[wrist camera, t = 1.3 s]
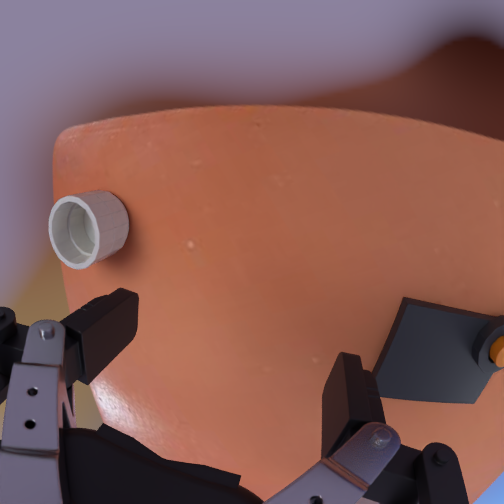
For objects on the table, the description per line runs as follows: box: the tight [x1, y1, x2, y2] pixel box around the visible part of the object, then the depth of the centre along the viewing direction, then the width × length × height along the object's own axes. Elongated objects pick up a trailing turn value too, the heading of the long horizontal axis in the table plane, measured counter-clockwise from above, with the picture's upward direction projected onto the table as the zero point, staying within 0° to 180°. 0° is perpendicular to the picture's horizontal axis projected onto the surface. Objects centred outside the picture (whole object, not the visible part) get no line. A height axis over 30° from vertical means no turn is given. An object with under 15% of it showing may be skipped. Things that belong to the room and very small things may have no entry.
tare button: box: [489, 336, 504, 367], centre depth 20 cm, size 3×3×2 cm
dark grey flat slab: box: [371, 297, 504, 404], centre depth 23 cm, size 11×14×3 cm
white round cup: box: [49, 190, 129, 269], centre depth 25 cm, size 6×6×5 cm
